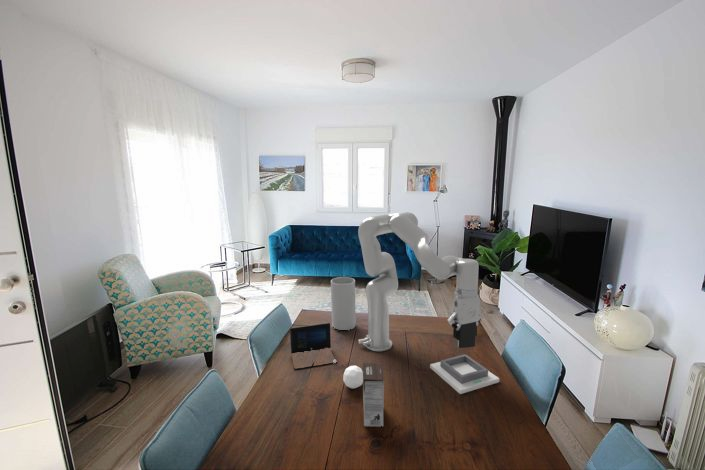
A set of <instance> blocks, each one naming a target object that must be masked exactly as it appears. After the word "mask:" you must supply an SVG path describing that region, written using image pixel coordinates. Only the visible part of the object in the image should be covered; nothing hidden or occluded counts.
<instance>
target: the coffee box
mask: <svg viewBox="0 0 705 470" xmlns="http://www.w3.org/2000/svg"><path fill="white" fill-rule="evenodd" d="M362 371H363V383H362V386H363V387H362V398H363V399H362V403H363V405H362V407H363V426H364V427H381V426H382V427H384V426H385V425H384V424H385V420H384V415H385V413H384V412H385V377H384V369H383V363H382V362H380V363H379V362H378V363H377V362H364V363H362Z"/></svg>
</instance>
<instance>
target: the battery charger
mask: <svg viewBox="0 0 705 470" xmlns="http://www.w3.org/2000/svg"><path fill="white" fill-rule="evenodd" d="M457 325H458V323H457V324H456V326H457ZM459 330H460V331H461V332H460V340H457V339H456V340H457V341H456V346H457V348H459V349H465V348H466V349H467V348H473V347H476V337H477V336H476V322H473V323H468V324H463V325H462V324H461V326H460V329H459Z"/></svg>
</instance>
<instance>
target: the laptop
mask: <svg viewBox="0 0 705 470" xmlns="http://www.w3.org/2000/svg"><path fill="white" fill-rule="evenodd" d="M331 334H332V333H331V322H325V323H317V324H309V325H305V326H304V325H302V326H296V327H290V328H289V338H290V339H289V340H290V343H289V344H290V355H292V353H297V352H303V353H304V351H309V352H310V351H311V350H315V351H316V350H320V349H322V350H323V349H325V348H328V349H329V348H331V349H332V345H331V344H332V343H331V341H332V339H331V338H332V337H331ZM333 362H334V363H333V364H336V362H337V363H338V361H337V358H336V359H334V360H333Z"/></svg>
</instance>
